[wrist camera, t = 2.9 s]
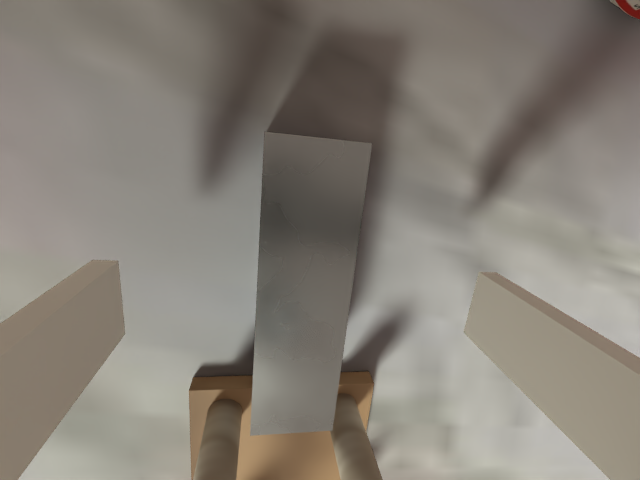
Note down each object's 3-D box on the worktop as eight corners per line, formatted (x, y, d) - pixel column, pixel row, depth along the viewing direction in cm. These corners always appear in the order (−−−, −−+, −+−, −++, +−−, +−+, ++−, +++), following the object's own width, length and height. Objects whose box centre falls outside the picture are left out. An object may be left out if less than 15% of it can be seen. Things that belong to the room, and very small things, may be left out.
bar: (315, 357, 19) (332, 430, 14) (254, 358, 18) (249, 435, 13) (339, 142, 15) (372, 143, 11) (264, 134, 15) (264, 131, 10)
